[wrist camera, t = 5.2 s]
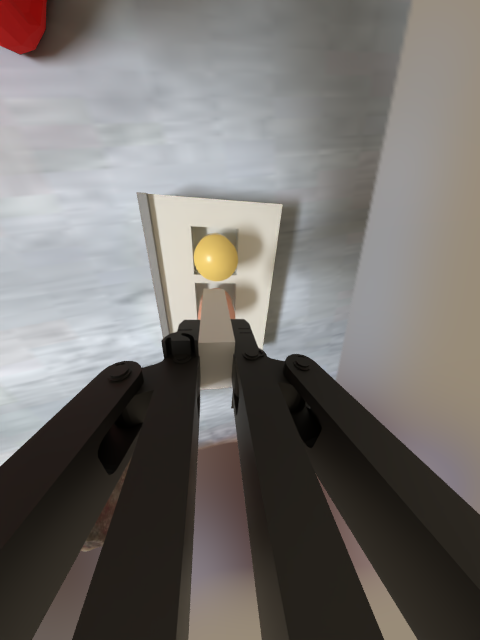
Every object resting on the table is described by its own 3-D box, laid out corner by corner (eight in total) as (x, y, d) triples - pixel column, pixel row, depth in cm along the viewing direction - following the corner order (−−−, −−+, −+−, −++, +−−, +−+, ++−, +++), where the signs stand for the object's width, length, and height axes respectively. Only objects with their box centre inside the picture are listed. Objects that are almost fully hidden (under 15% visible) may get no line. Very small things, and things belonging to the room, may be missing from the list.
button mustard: (195, 232, 19) (192, 234, 15) (234, 233, 19) (239, 236, 16) (198, 270, 20) (195, 281, 17) (232, 271, 21) (237, 281, 18)
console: (153, 199, 21) (136, 192, 16) (269, 207, 23) (284, 203, 18) (175, 349, 31) (169, 372, 27) (253, 346, 33) (261, 367, 29)
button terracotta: (199, 287, 21) (196, 300, 18) (232, 288, 22) (236, 300, 18) (200, 317, 23) (198, 334, 20) (231, 317, 24) (234, 333, 20)
